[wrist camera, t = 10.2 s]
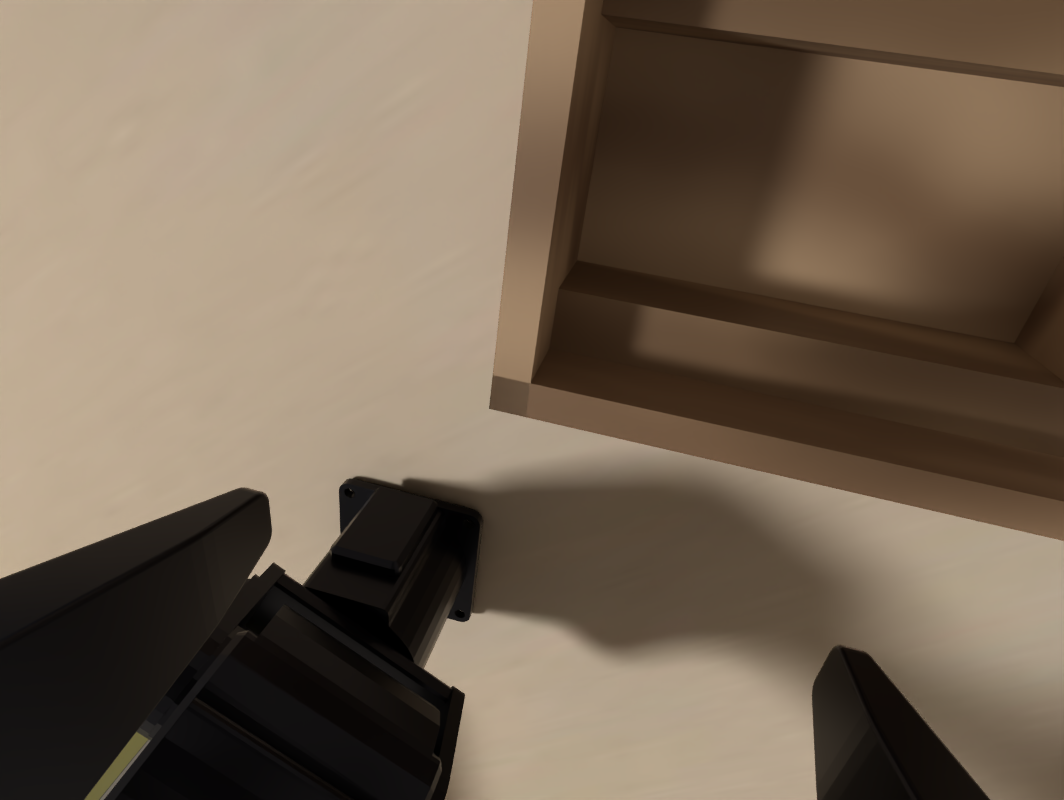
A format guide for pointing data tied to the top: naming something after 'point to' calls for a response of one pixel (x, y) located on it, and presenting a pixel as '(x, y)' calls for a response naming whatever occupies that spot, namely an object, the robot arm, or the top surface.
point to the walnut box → (799, 242)
